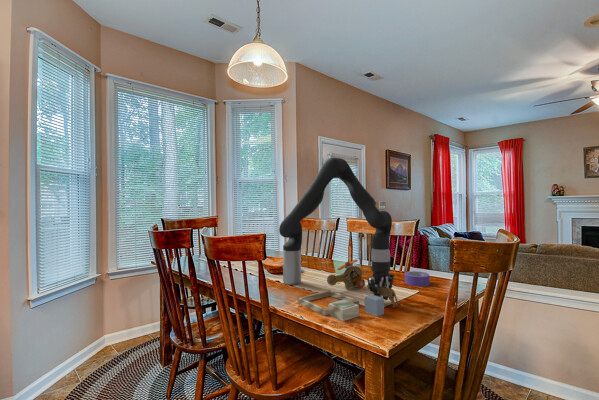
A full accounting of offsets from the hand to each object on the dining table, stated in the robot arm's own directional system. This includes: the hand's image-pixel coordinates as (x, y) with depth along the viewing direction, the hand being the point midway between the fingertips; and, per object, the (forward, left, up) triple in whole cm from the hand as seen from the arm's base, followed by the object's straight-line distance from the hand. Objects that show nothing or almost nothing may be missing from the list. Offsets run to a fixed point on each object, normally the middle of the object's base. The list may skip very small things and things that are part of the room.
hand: (381, 300), depth 124 cm
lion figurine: (+1, 0, -1) cm, 1 cm away
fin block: (+5, -10, -1) cm, 11 cm away
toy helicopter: (-24, +3, -1) cm, 24 cm away
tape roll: (-10, +38, -2) cm, 39 cm away
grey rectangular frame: (-9, -18, -1) cm, 20 cm away
